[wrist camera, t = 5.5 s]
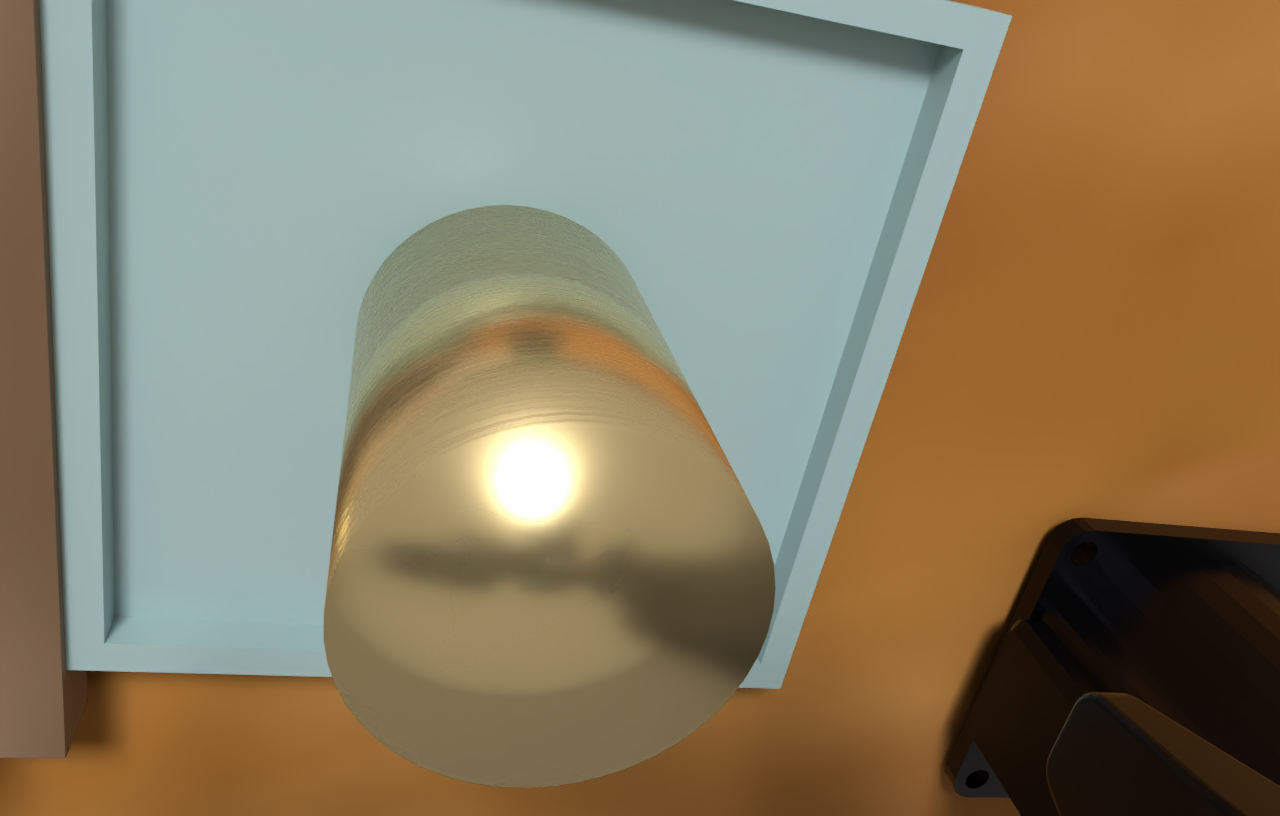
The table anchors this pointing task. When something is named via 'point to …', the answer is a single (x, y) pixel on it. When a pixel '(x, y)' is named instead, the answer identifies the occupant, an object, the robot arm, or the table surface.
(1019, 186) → the table surface
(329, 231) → the light blue square tray
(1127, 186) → the table surface
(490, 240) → the cylinder
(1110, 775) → the robot arm
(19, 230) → the brown compartment tray
